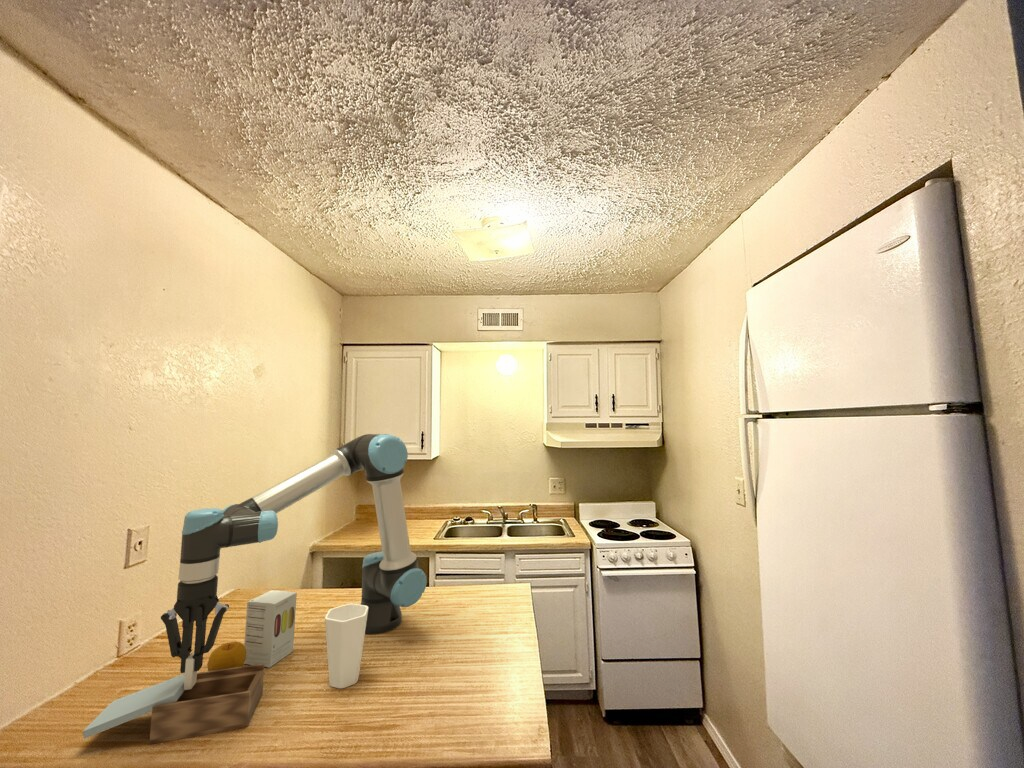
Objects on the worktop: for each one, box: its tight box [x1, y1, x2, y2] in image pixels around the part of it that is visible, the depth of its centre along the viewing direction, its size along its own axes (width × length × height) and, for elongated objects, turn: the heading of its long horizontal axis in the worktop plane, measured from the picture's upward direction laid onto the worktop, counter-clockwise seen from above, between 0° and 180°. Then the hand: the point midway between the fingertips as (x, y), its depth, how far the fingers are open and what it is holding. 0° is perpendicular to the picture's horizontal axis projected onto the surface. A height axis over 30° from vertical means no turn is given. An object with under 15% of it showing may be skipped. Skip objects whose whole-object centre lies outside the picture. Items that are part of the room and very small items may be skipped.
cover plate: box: [82, 673, 185, 740], centre depth 93 cm, size 16×10×2 cm, turn 107°
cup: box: [324, 603, 369, 689], centre depth 111 cm, size 11×10×17 cm
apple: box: [206, 641, 246, 671], centre depth 111 cm, size 8×8×9 cm
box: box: [148, 664, 265, 745], centre depth 96 cm, size 18×12×7 cm, turn 107°
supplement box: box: [243, 589, 298, 668], centre depth 122 cm, size 10×9×17 cm
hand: (189, 686), depth 95 cm, fingers closed
